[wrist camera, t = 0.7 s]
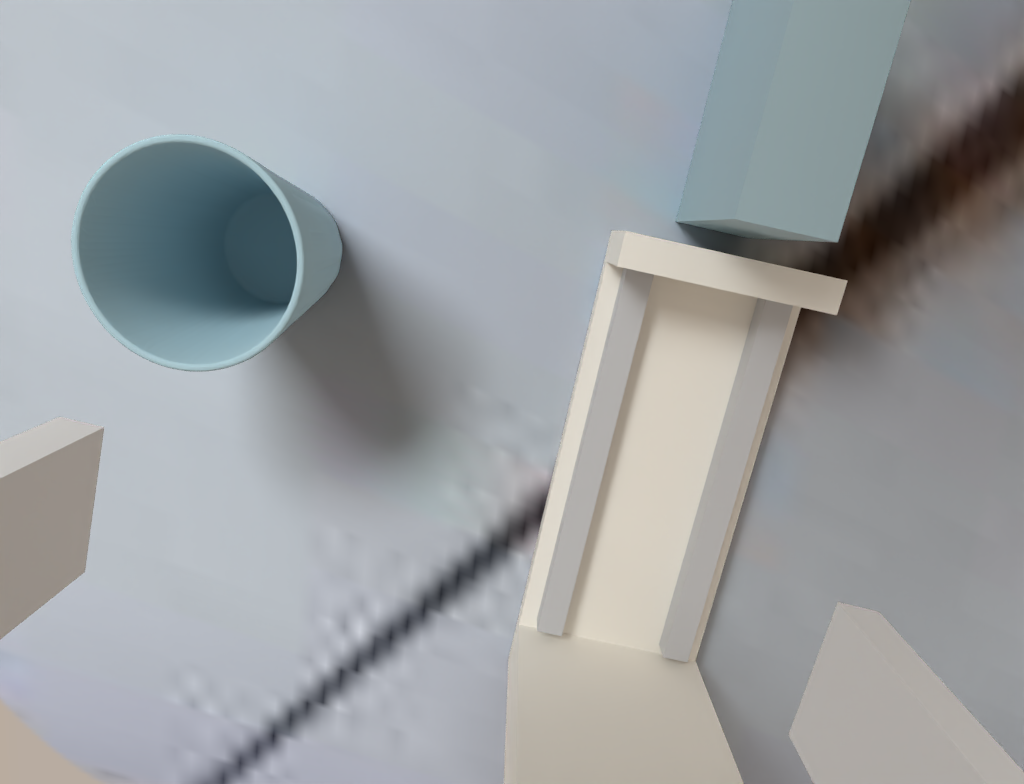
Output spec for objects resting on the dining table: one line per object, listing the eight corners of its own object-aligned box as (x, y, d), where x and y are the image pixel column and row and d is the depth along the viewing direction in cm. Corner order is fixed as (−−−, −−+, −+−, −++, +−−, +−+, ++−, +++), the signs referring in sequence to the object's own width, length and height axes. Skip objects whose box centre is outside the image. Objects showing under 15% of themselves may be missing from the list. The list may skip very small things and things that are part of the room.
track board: (611, 230, 35) (674, 232, 20) (802, 273, 35) (1001, 306, 21) (508, 658, 40) (498, 912, 25) (678, 693, 40) (768, 964, 25)
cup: (330, 135, 34) (247, 98, 24) (392, 298, 36) (339, 328, 26) (175, 193, 35) (31, 181, 25) (242, 351, 36) (132, 401, 26)
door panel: (735, -13, 33) (825, -115, 23) (815, 5, 33) (937, -89, 23) (675, 221, 35) (734, 218, 25) (750, 238, 35) (837, 242, 25)
